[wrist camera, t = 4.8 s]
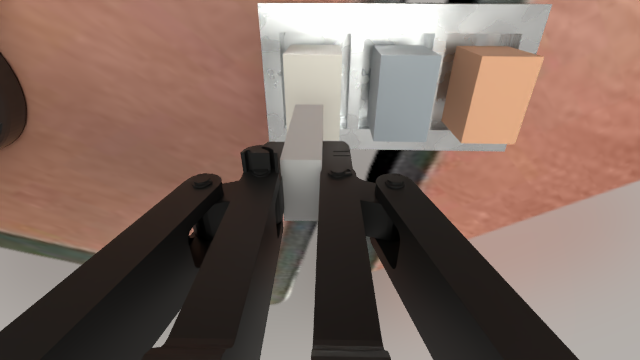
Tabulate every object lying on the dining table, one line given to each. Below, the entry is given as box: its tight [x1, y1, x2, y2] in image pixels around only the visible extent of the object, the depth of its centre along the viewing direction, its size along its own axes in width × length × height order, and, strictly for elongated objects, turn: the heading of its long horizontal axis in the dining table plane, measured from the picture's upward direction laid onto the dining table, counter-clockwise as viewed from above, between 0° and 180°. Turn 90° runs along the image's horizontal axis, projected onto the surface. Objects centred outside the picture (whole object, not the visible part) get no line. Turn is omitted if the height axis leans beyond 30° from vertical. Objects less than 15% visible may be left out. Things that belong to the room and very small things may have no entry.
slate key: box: [367, 45, 442, 142], centre depth 25 cm, size 4×6×5 cm, turn 0°
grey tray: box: [258, 2, 552, 151], centre depth 29 cm, size 22×12×4 cm, turn 90°
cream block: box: [283, 44, 342, 141], centre depth 25 cm, size 4×6×5 cm, turn 0°
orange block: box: [441, 46, 544, 144], centre depth 25 cm, size 4×6×5 cm, turn 0°
